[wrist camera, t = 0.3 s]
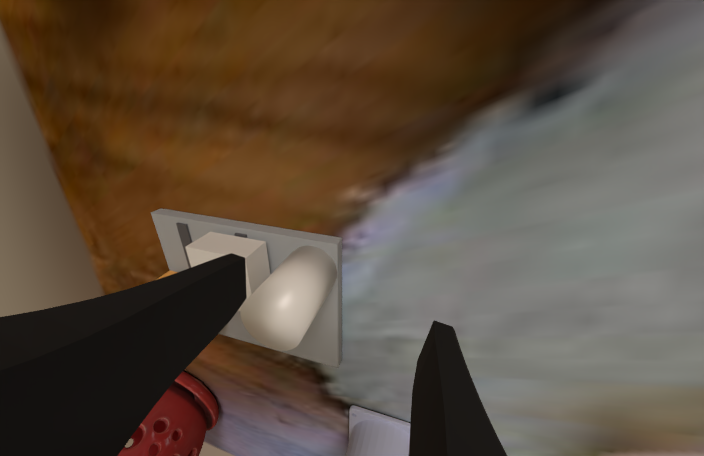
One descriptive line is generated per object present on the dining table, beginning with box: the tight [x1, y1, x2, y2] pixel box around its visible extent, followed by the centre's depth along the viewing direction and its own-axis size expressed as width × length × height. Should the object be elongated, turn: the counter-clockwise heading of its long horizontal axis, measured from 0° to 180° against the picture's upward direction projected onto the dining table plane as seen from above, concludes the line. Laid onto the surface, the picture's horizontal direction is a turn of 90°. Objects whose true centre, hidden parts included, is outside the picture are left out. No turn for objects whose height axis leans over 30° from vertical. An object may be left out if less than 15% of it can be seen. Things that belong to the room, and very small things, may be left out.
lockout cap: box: [240, 246, 338, 351], centre depth 19 cm, size 4×4×6 cm
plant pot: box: [118, 371, 219, 456], centre depth 34 cm, size 13×13×12 cm
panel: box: [151, 209, 342, 368], centre depth 25 cm, size 13×17×1 cm
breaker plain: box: [185, 232, 270, 311], centre depth 22 cm, size 5×5×2 cm
